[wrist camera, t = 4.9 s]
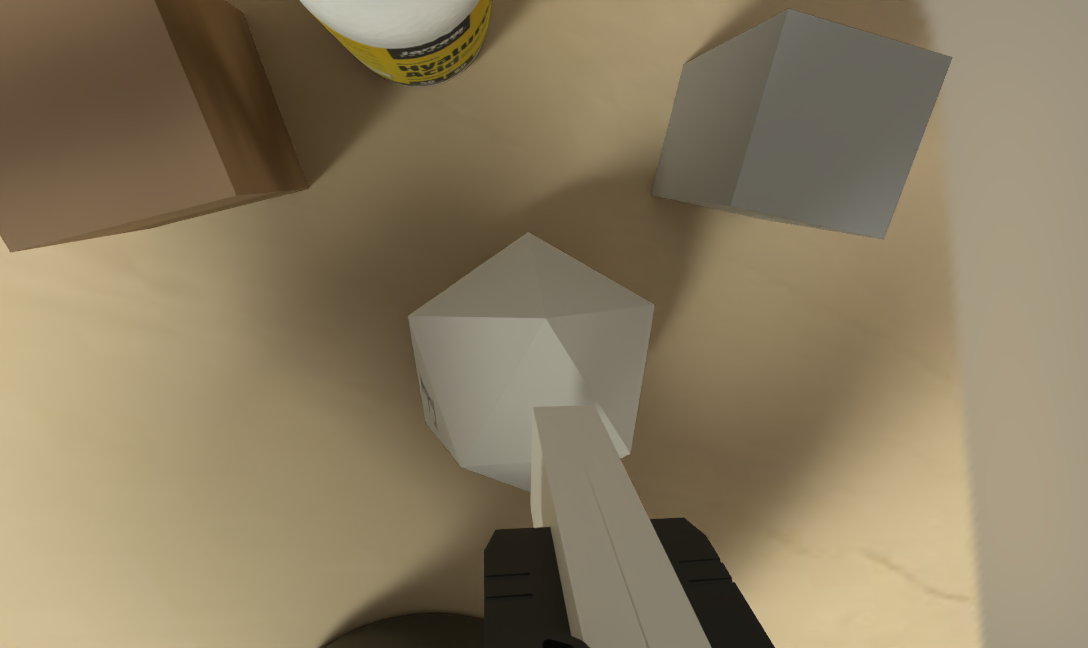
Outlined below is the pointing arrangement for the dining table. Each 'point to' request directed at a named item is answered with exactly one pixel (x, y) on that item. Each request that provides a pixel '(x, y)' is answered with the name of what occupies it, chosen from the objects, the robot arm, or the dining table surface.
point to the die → (527, 355)
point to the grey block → (800, 124)
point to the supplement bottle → (408, 35)
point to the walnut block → (132, 118)
